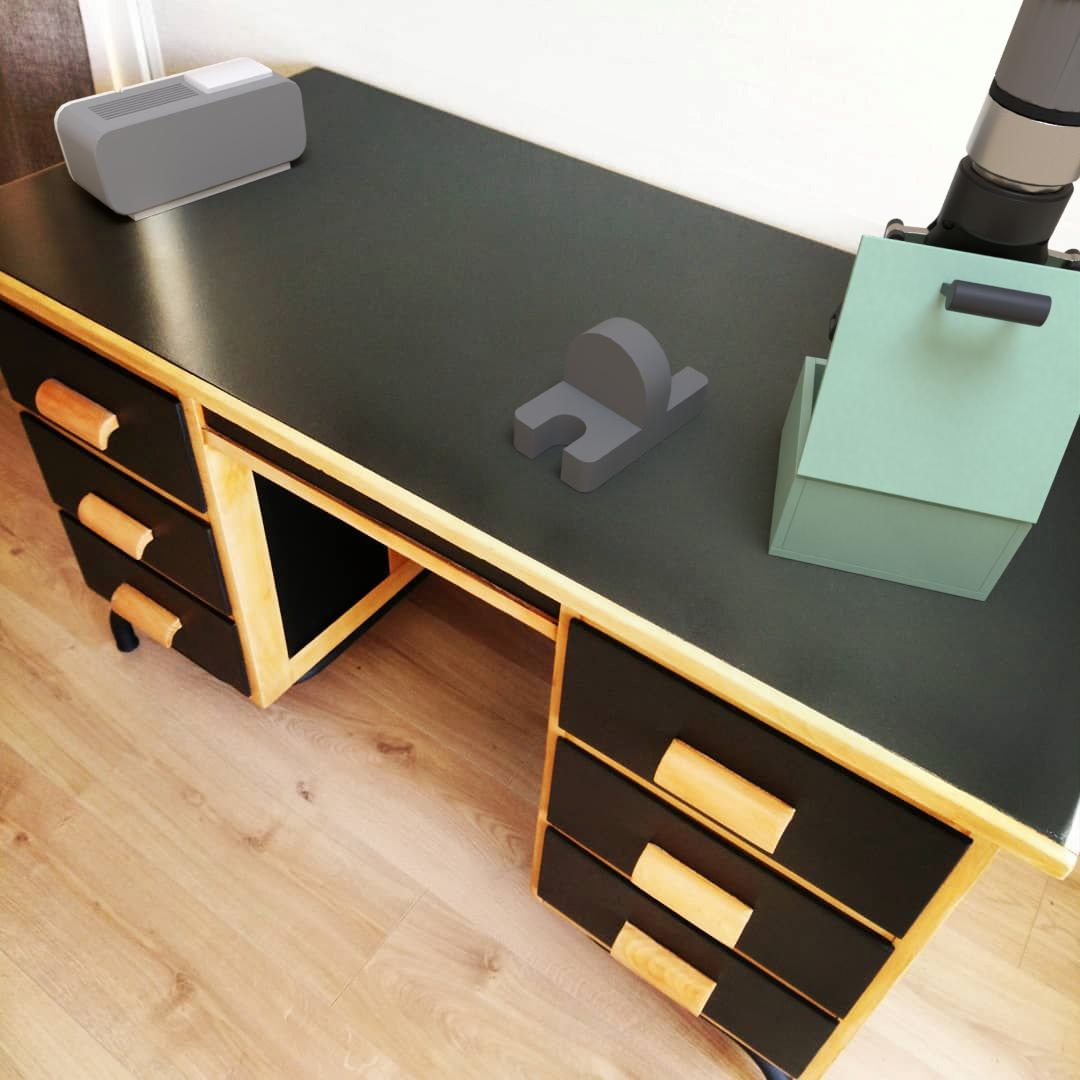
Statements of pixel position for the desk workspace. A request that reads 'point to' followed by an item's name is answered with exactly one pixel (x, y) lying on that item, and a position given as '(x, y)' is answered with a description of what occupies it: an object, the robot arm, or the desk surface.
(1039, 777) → the desk surface
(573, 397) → the bracket
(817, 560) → the compartment
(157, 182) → the alarm clock
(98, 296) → the desk surface
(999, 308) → the lid
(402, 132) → the desk surface
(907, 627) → the desk surface
